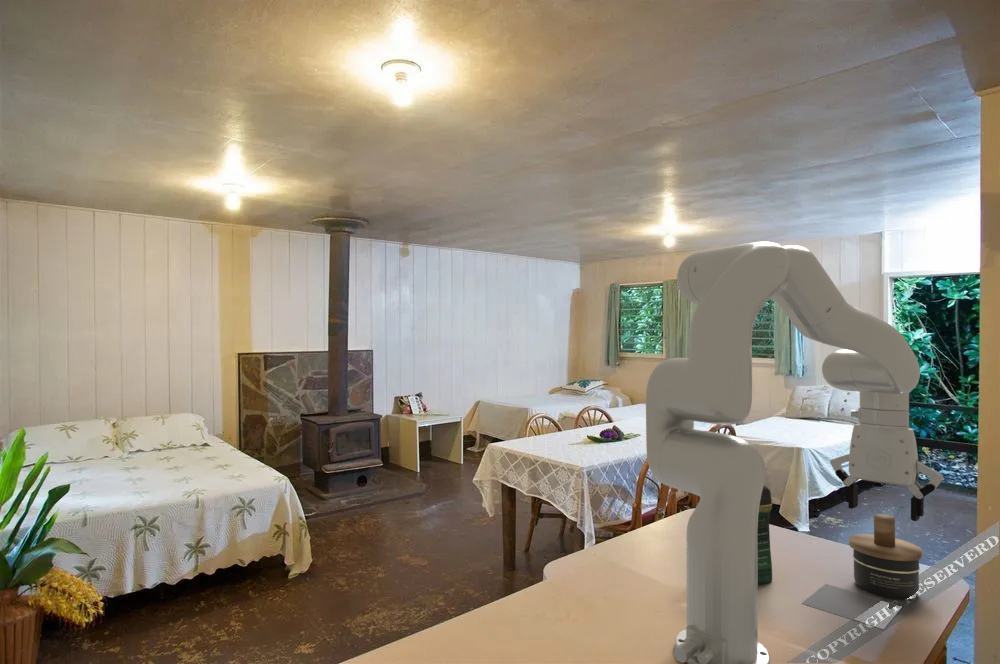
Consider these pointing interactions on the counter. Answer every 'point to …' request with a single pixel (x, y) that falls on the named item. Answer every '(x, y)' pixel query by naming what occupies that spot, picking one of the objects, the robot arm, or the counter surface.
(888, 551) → the lid
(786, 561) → the counter surface
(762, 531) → the coffee jar
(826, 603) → the mat
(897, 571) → the jar
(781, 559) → the counter surface
